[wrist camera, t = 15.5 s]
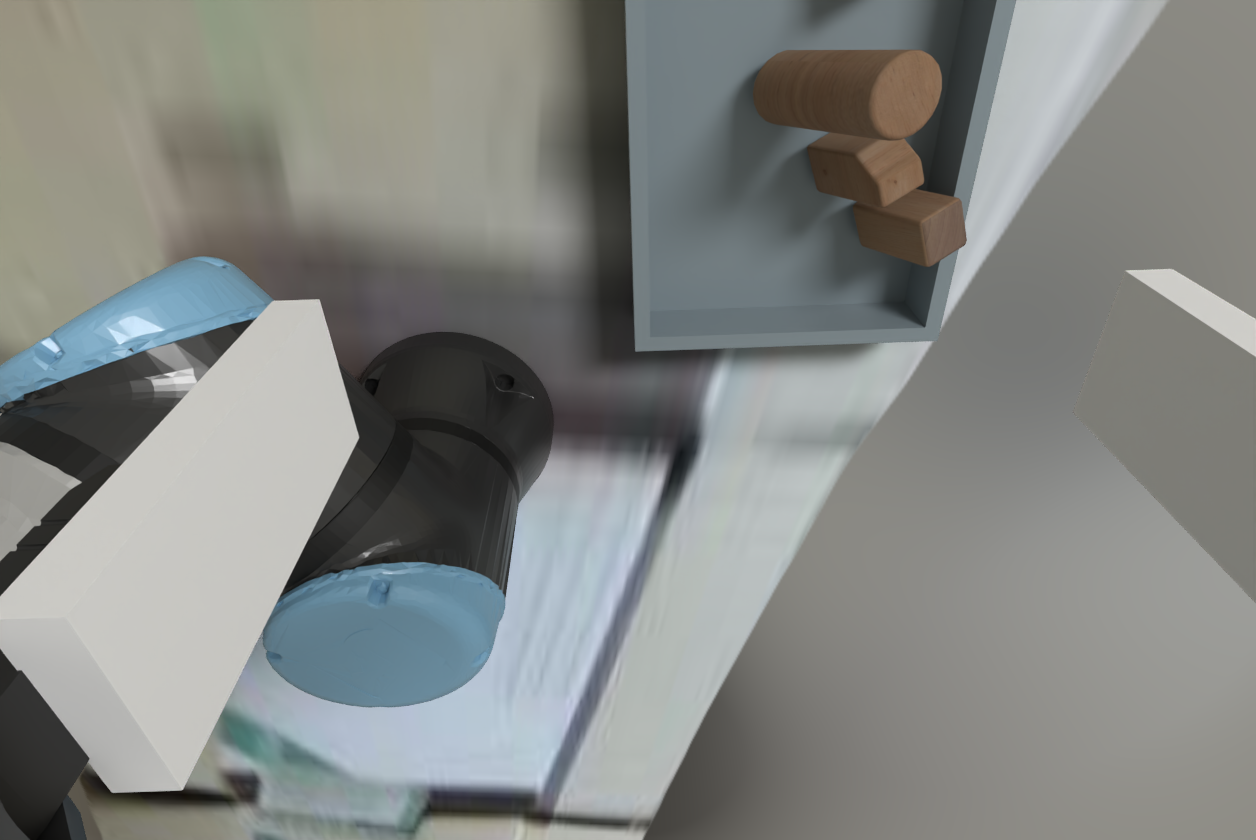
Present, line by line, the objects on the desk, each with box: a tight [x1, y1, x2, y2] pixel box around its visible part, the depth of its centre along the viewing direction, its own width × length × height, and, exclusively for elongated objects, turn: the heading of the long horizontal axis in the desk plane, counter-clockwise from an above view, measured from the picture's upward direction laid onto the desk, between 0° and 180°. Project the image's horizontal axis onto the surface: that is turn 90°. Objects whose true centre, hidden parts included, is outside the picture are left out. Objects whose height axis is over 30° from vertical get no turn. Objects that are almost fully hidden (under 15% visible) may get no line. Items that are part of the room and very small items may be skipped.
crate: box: [624, 0, 1016, 352], centre depth 42 cm, size 20×28×5 cm
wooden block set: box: [753, 50, 967, 267], centre depth 40 cm, size 18×9×10 cm, turn 22°
